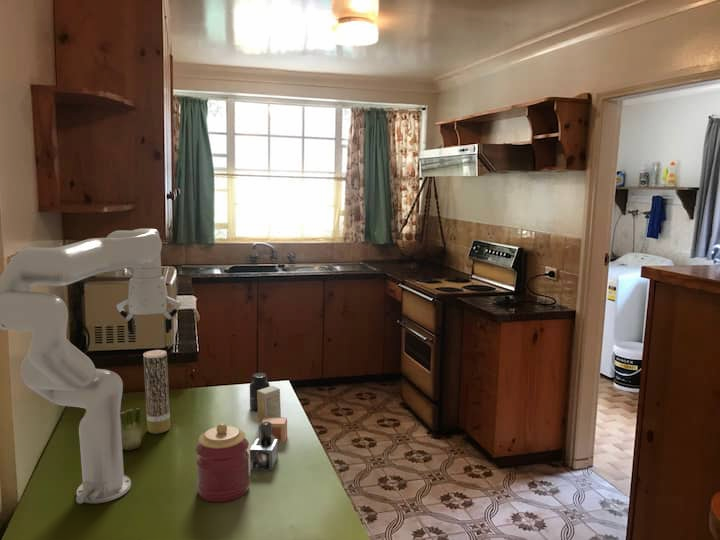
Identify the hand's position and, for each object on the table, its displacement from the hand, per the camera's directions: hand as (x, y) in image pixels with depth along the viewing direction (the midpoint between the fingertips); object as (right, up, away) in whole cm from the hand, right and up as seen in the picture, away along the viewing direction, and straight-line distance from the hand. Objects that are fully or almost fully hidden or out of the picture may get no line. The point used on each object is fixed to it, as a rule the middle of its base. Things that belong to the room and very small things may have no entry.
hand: (150, 332), depth 164 cm
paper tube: (-4, -33, +18) cm, 37 cm away
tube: (+33, -36, 0) cm, 49 cm away
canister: (+25, -38, -17) cm, 49 cm away
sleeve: (+33, -36, -3) cm, 49 cm away
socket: (+34, -34, +12) cm, 49 cm away
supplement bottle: (+25, -30, +35) cm, 53 cm away
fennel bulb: (-7, -35, +5) cm, 36 cm away
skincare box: (+30, -32, +21) cm, 49 cm away
